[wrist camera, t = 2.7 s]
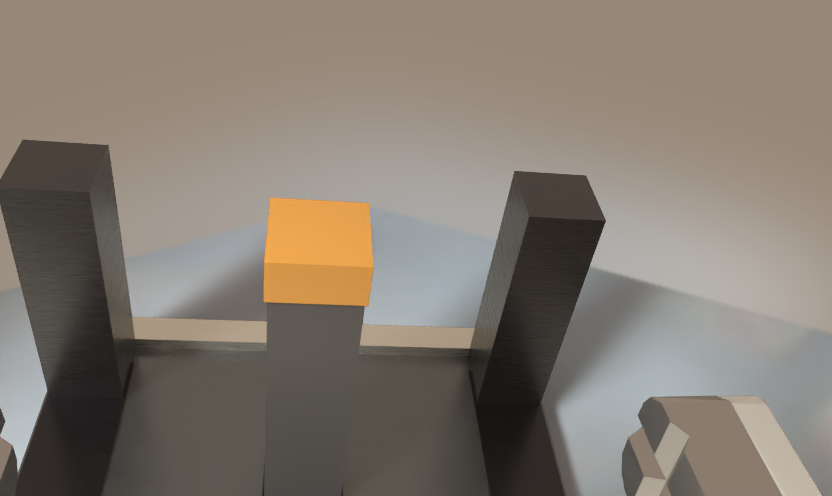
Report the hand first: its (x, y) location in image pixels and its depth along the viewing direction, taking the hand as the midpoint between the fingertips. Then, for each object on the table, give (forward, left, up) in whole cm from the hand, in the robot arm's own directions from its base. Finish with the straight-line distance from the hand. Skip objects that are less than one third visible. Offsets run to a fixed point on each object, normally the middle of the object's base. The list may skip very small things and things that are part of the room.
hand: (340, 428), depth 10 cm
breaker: (0, +13, -19) cm, 23 cm away
